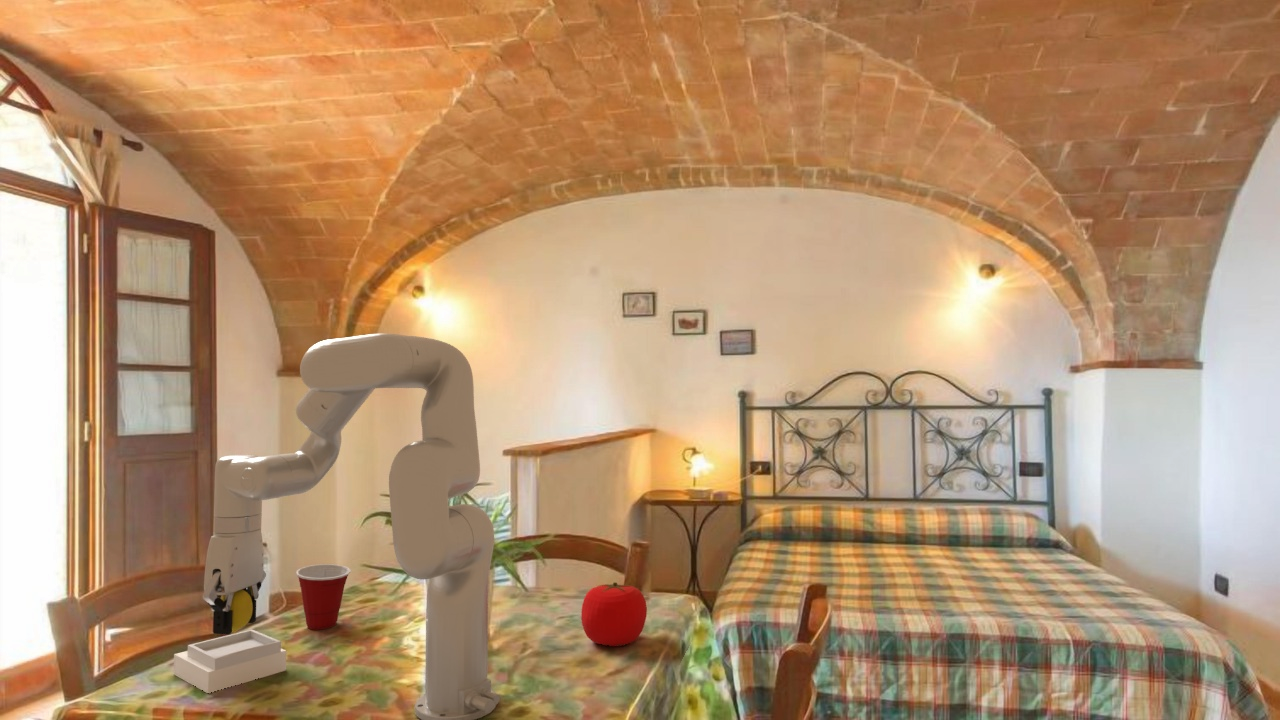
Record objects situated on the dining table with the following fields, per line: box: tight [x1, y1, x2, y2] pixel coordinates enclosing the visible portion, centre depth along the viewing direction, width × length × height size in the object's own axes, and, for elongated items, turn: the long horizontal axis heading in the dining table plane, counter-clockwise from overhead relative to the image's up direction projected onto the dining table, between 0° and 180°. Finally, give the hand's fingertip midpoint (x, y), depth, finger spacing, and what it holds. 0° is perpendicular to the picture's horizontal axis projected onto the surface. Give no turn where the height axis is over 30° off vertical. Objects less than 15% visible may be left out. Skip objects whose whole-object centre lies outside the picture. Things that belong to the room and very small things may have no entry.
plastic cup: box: [295, 563, 352, 631], centre depth 157 cm, size 11×11×12 cm
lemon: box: [221, 590, 253, 634], centre depth 130 cm, size 6×6×8 cm
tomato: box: [580, 582, 648, 647], centre depth 147 cm, size 13×14×12 cm
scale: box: [173, 629, 287, 694], centre depth 131 cm, size 14×13×5 cm
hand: (234, 626), depth 130 cm, fingers closed on lemon, 5 cm apart
